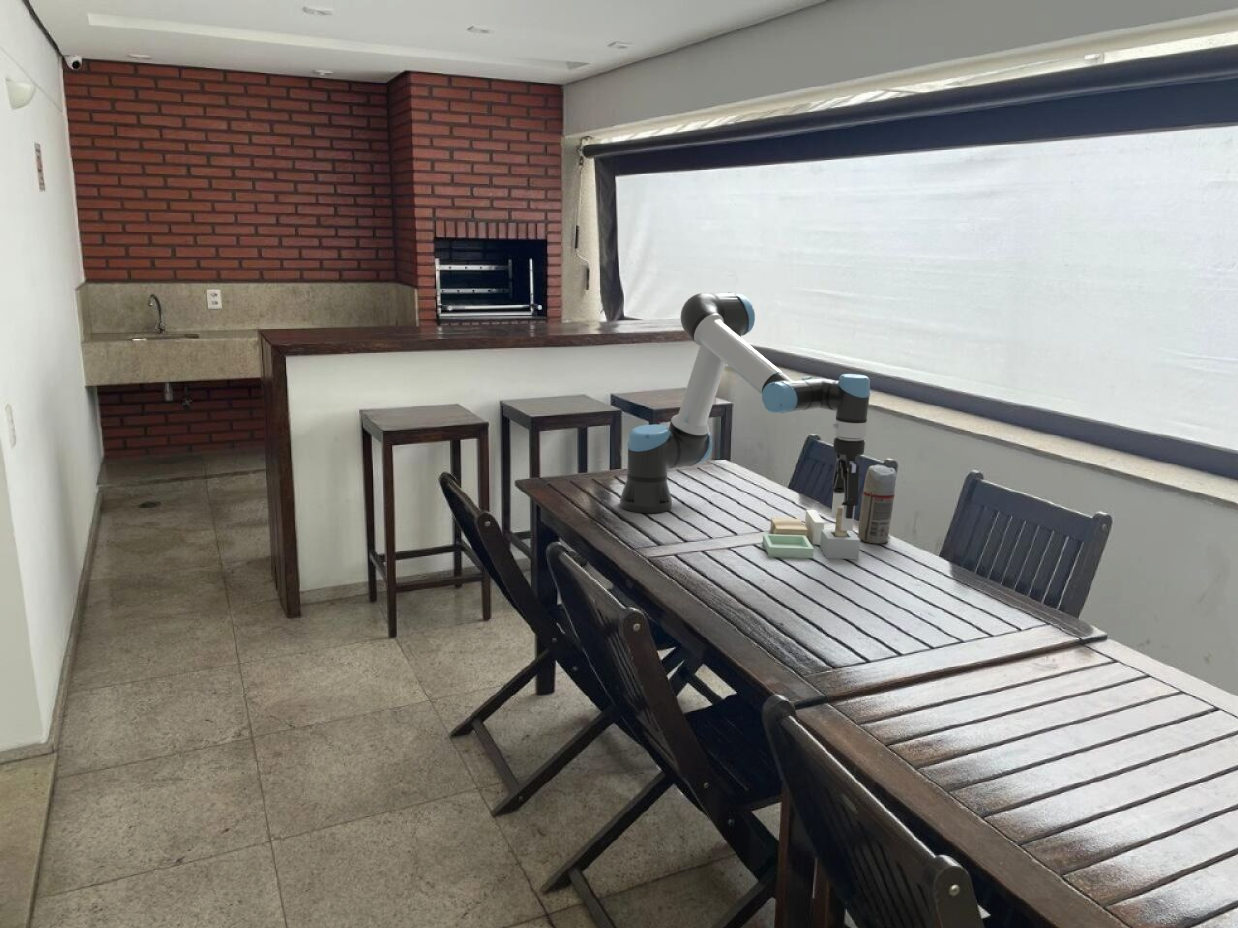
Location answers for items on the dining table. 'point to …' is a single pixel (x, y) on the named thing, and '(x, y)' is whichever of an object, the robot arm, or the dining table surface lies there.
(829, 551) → the socket block
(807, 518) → the block
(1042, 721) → the dining table surface
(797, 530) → the grooved wooden block
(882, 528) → the spray can
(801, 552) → the tray
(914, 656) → the dining table surface
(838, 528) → the dowel
